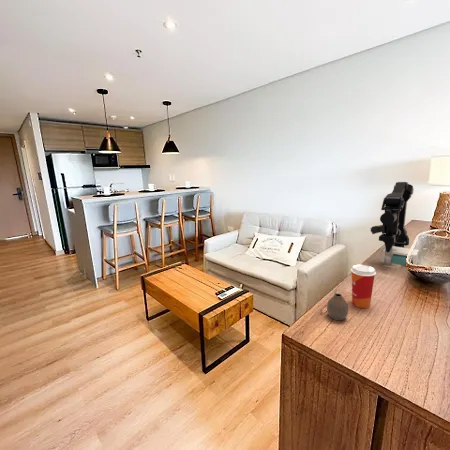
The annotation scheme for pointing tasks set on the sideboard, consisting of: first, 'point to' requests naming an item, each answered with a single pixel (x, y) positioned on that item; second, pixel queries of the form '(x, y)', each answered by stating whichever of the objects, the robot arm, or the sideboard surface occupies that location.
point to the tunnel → (403, 253)
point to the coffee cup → (362, 285)
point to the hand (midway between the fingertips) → (388, 251)
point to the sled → (390, 260)
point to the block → (399, 259)
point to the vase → (337, 307)
